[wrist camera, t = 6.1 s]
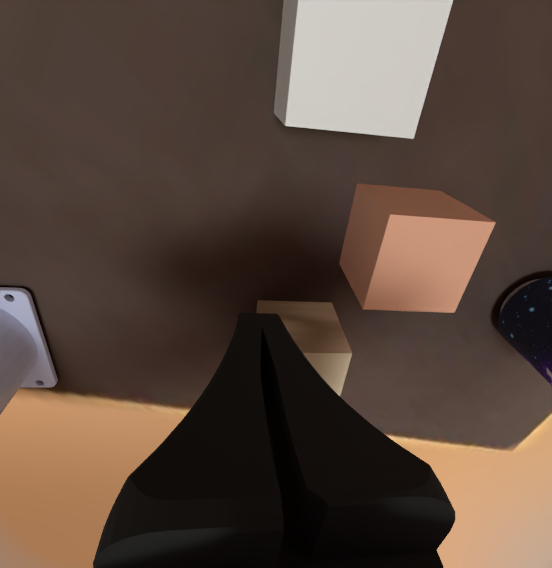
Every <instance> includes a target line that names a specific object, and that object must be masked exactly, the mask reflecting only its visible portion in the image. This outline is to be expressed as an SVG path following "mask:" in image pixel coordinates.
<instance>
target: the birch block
mask: <svg viewBox="0 0 552 568" xmlns="http://www.w3.org/2000/svg"><path fill="white" fill-rule="evenodd" d="M256 313H273V314H278V315H279V316H280V318H281V320H282V321H283V323H284V325H285V327H286V328H287V330H288V332H289V333H290V335H291V337H292V338H293V340H294V341H295V343H296V344H297V346H298V347H299V348H300V350H301V351H302V353H303V354H304V356H305V357H306V358H307V360H308V361H309V362H310V363H311V365H312V366H313V367H314V368H315V370H316V371H317V372H318V373H319V375H320V376H321V377H322V378H323V379H324V380H325V381H326V383H327V384H328V385H329V386H330V387H331V388H332V389H333V390H334V391H335V392H336V393H337V394H338V395H339V396H340V395H341V391H342V388H343V384H344V381H345V377H346V374H347V370H348V367H349V363H350V360H351V356H352V351H351V349H350V346H349V344H348V342H347V339H346V337H345V334H344V332H343V329H342V327H341V324H340V322H339V319H338V317H337V314H336V312H335V309H334V307H333V304H332V303H330V302H299V301H269V300H257V311H256Z"/></svg>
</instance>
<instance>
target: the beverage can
mask: <svg viewBox="0 0 552 568" xmlns="http://www.w3.org/2000/svg"><path fill="white" fill-rule="evenodd" d="M498 329H499V332H500V334H501V335H502V336H503V337H504V338H505V339H506V340H507V341H508V342H509V343H510V344H511V345H512V346H513V347H514V348H515V349H516V350H517V351H518V352H519V353H520V354H521V355H522V356H523V357H524V358H525V359H526V360H527V361H528V362H529V363H530V364H531V365H532V366H533V367H534V368H535V369H536V370H537V371H538V372H539V373H540V374H541V375H542V376H543V377H544V378H545V379H546V380H547V381H548V382H549V383H550V384H551V385H552V276H551V277H546V278H542V279H536V280H532V281H529V282H526V283H524V284H522V285H521V286H519V287H517V288H516V289H515V290H513V291H512V292H511V293H510V294H509V295H508V296H507V298H506V299H505V301H504V302H503V304H502V307H501V310H500V315H499V319H498Z"/></svg>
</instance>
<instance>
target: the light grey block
mask: <svg viewBox="0 0 552 568" xmlns="http://www.w3.org/2000/svg"><path fill="white" fill-rule="evenodd" d="M452 2H453V0H284V3H283V14H282V25H281V37H280V48H279V60H278V71H277V83H276V94H275V105H274V114H275V115H276V116H277V117H278V118H279V120H280V121H281V122H282V123H283V124H284V125H285V126H292V127H302V128H312V129H322V130H332V131H342V132H352V133H362V134H372V135H382V136H391V137H401V138H411V139H414V135H415V132H416V128H417V125H418V121H419V118H420V114H421V111H422V107H423V104H424V100H425V97H426V93H427V90H428V86H429V83H430V79H431V76H432V72H433V69H434V65H435V62H436V58H437V55H438V51H439V48H440V44H441V41H442V37H443V34H444V30H445V27H446V23H447V20H448V16H449V13H450V9H451V6H452Z"/></svg>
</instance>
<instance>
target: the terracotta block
mask: <svg viewBox="0 0 552 568" xmlns="http://www.w3.org/2000/svg"><path fill="white" fill-rule="evenodd" d="M495 223H496V222H494V221H492V220H491V219H489V218H487V217H486V216H484V215H482V214H480V213H479V212H477V211H475V210H473V209H472V208H470V207H468V206H467V205H465V204H463V203H461V202H460V201H458V200H456V199H454V198H453V197H451V196H449V195H448V194H446V193H444V192H442V191H438V190H426V189H415V188H403V187H392V186H380V185H368V184H357V186H356V191H355V195H354V200H353V204H352V208H351V213H350V217H349V222H348V226H347V231H346V235H345V239H344V244H343V248H342V253H341V257H340V262H339V264H340V266H341V268H342V270H343V272H344V274H345V276H346V278H347V280H348V282H349V284H350V286H351V288H352V289H353V291H354V293H355V295H356V297H357V299H358V301H359V303H360V305H361V307H362V309H368V310H395V311H422V312H449V313H454V312H455V310H456V308H457V306H458V304H459V301H460V299H461V297H462V295H463V293H464V290H465V288H466V286H467V284H468V282H469V280H470V277H471V275H472V273H473V271H474V269H475V267H476V264H477V262H478V260H479V258H480V256H481V253H482V251H483V249H484V247H485V245H486V243H487V240H488V238H489V236H490V234H491V232H492V230H493V227H494V225H495Z"/></svg>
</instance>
